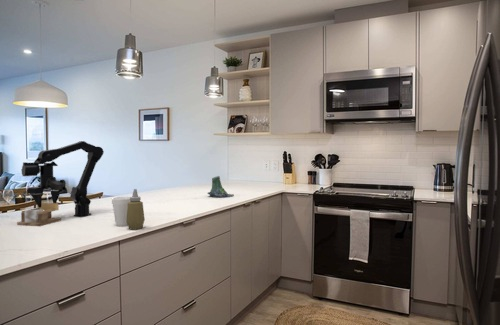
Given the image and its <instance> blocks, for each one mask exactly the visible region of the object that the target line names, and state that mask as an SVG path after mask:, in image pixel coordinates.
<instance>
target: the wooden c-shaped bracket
mask: <svg viewBox="0 0 500 325" xmlns="http://www.w3.org/2000/svg"><path fill="white" fill-rule="evenodd" d="M36 205H37V204H36ZM59 205H60V204H59V203H58V202H56V203H53V202H43V201H42V205H41V207H38V205H37V206H36V207H35V208H33V209H43V211H41V212H39V214H43V213H47V212H51V213H52V212H55V211H56V212H57V211H59V207H60V206H59ZM44 210H45V211H44ZM21 213H24V210H21Z"/></svg>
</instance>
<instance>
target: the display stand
mask: <svg viewBox="0 0 500 325" xmlns="http://www.w3.org/2000/svg"><path fill="white" fill-rule="evenodd" d="M23 211H24V213H22V212H21V213H20V215H21V216H20V217H21V221H18V222H17V223H16V224H17V226H30V227H42V226H46V225H50V224H53V223H57V222H58V223H59V222H60V221H62V218H61V217H52V212H47V213H43V214H39V212H41V211H45V210H43V209H34V208H29V209H25V210H23Z"/></svg>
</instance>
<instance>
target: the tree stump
mask: <svg viewBox="0 0 500 325" xmlns="http://www.w3.org/2000/svg"><path fill="white" fill-rule="evenodd" d="M211 181H212V182H211V189H210V191H209V192H206V193H207V194H208V195H210V197H212V198H223V199H224V198H233V197H234V195H235V194H234V193H229V192H227V191H226V190H225V188H223V186H222V182H221V177H220V176H219V175H217V176H214V177H212V178H211Z"/></svg>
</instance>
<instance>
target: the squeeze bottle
mask: <svg viewBox="0 0 500 325" xmlns="http://www.w3.org/2000/svg"><path fill="white" fill-rule="evenodd" d="M129 197H130V201H131V202H129V203H128V208H127V219H126V222H127V224H128V225H127V227H128V229H129V230H139V229H142V228H143V227H144V223H145V213H144V212H145V211H144V210H145V209H144V204H143V203H144V202H143V201H142V200H141V196H139V193H138V190H137V188H134V189H133V192H132V196H129Z"/></svg>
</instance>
